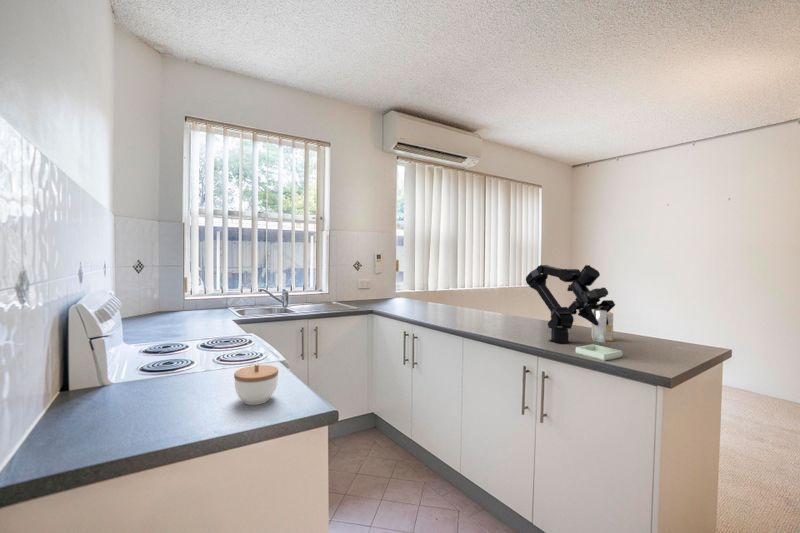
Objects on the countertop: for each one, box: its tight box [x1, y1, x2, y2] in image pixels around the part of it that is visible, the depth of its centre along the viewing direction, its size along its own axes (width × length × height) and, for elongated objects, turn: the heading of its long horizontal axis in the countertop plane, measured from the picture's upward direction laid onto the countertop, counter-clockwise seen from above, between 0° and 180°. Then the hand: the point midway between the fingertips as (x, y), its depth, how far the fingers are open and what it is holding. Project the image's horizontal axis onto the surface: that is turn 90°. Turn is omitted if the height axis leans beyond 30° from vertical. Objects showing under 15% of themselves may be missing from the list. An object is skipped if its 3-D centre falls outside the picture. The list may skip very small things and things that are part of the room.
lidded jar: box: [233, 363, 279, 406], centre depth 96 cm, size 11×11×9 cm
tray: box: [575, 344, 623, 362], centre depth 143 cm, size 12×12×2 cm
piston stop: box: [592, 309, 607, 343], centre depth 143 cm, size 4×4×12 cm
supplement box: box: [591, 310, 614, 342], centre depth 170 cm, size 8×5×13 cm, turn 71°
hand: (602, 324), depth 142 cm, fingers closed on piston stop, 4 cm apart
